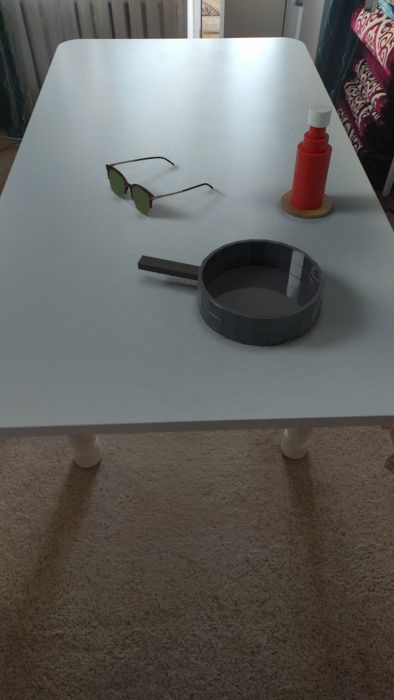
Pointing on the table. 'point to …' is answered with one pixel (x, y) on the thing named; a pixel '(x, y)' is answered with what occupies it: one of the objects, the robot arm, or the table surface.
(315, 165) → the sauce bottle
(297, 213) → the coaster
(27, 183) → the table surface
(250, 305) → the pan
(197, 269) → the pan handle
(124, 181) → the sunglasses
